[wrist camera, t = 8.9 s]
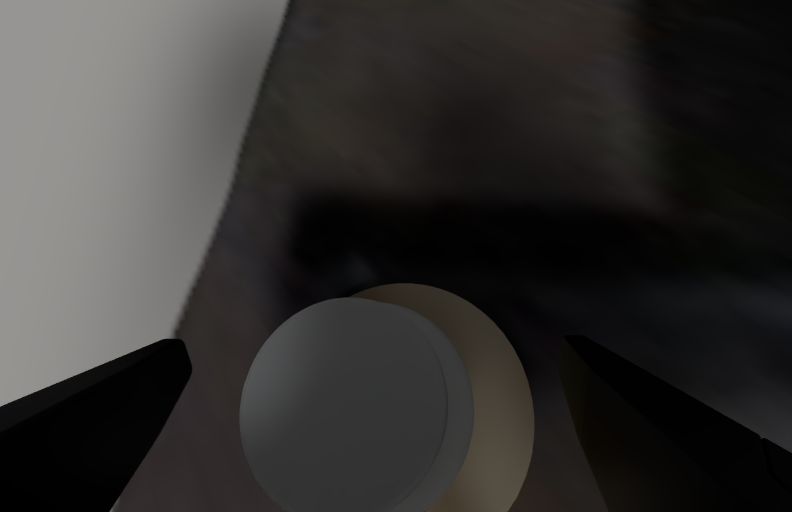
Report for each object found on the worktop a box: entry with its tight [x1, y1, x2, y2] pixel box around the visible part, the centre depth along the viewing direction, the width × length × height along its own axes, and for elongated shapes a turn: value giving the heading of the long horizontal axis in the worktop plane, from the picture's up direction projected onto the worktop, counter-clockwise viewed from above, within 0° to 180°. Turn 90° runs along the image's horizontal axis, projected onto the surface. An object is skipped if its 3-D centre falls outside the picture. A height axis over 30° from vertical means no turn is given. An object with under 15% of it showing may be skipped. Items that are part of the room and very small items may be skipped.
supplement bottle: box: [240, 298, 474, 512], centre depth 11 cm, size 5×5×10 cm
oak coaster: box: [348, 283, 534, 512], centre depth 16 cm, size 11×11×1 cm
